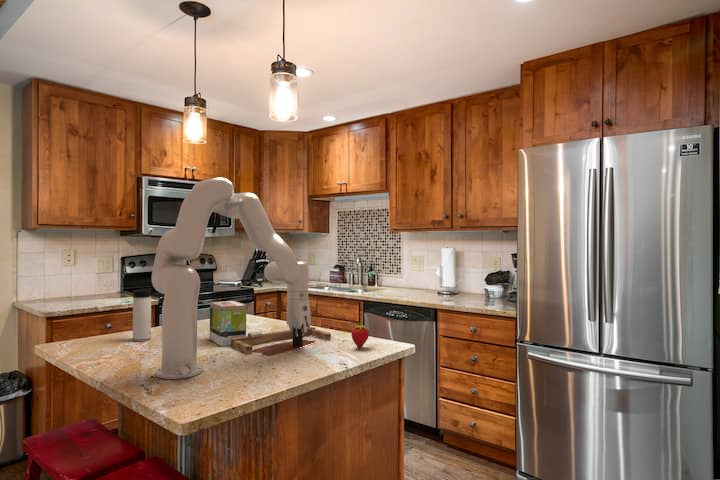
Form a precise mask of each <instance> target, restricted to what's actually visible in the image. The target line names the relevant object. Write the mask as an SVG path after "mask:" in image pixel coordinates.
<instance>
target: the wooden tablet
mask: <svg viewBox="0 0 720 480" xmlns="http://www.w3.org/2000/svg"><path fill="white" fill-rule="evenodd" d="M308 340H309V339H303V346H305V345H308V344H311V343H314V342H315V341H316V340H312V341H308ZM314 344H315V343H314ZM311 345H312V344H311ZM303 346H302V348H304V347H303ZM308 346H309V345H308ZM305 347H306V346H305ZM297 348H298V349H301V348H300V347H297ZM297 348H295V347H293V340H292V341H285V342H279V343H275V344H270V345H265V346H262V347H258V348H255V349H252V353H255V354H261V355H262V356H265V357H271V356H275V355H280V354H283V353H287V352H291V350H292V351H295V350H297Z"/></svg>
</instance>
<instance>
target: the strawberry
mask: <svg viewBox="0 0 720 480" xmlns="http://www.w3.org/2000/svg"><path fill="white" fill-rule="evenodd" d="M366 327H367V325H363V324H362V325H361V324H358V325H354V326H353V329H352V330H351V334H350V335H351V338H352V341H353V343H354V345H356V346H357V348H358V349H359V348H361V349H362V348H363V346H364V345H365V344H366V342H367V341H368V339H369V336H370V331H369V329H368V328H366Z"/></svg>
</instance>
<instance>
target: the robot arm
mask: <svg viewBox="0 0 720 480" xmlns="http://www.w3.org/2000/svg"><path fill="white" fill-rule="evenodd" d="M234 190H235V189H234V185H233V183H232V182H231V180H229V179H228V178H225V177H221V176H218V177H213V178H208V179H204V180H199V181H198V182H196V183H195V184H194V185H193V187H192V189H191V190H190V191H189V193H188V194H187V195H186V197H185V198H184V199H183V201H182V203H181V205H180V209H179V212H178V217H177V219H176V222H175V223H176V224H175V228H172V229H169V230H167V231H166V232H164V233H163V234H162V236H161V238H160V239H159V241H158V244H157V248H156V253H155V257H154V262H153V266H152V270H151V271H152V272H151V284H152V286H153V288H154V289H155V291H157V292H158V293H161V295H162V294H163V295H164V297H163V301H162V307H161V367H159V368H157V369H156V370H155V376H156V377H157V378H160V379H164V380H179V379H180V380H181V379H186V378H191V377H194V376H197V375H199V374H201V373H202V372H203V366H202V365H201V364H200V363H199V364H198V303H199V302H198V301H199V294H200V289H201V278H200V276H199V273H198V272H197V270H196V269H195V268H194V267H192V266H190V265H187V261H190V260H191V261H192V260H194V259H197V258H198V257H200V255H201V253H202V251H203V248H204V243H205V238H206V234H207V233H206V232H207V227H208V225H209V220H210V217H211V215H212V213H215V214H219V215H220V216H224V217H226V218H230V219H234V220H237V219H239V221H240V222H241V223H240V224H242V227H243V228H244V231H245V233H246V236H247V237H248V239H249V241H250V242H251V244H252V245H254V246H255V247H256V248H259V249H260V250H262V251H263V252H265V253H266V254H267V255H268V256H270V258H272V260H273V261H271V262H269V263H267V264H266V266H265V267H264V270H263V275H264V278H266V280H268V281H269V282H271V283H276V284H284V285H286V300H287V302H286V317H285V318H286V320H285V321H286V325H288V328H289V330H290V329H291V330H292V335H294V336H293V339H292V341H293V347H295V348H297V347H302V346H303V340H304V337H303V334H304V332H307V328H309V327H312V321H311V318H312V316H311V315H312V314H311V306H310V300H309V263H308V262H307V261H302V260H301V261H299V260H298V259H297V257H296V256H295V254H294V251H293V250H292V249H291V247H290V246H289V244H287V242H285V241H284V239H283V238H281V236H280V235H279V234H277V232H276V231H275V230H274V228H273V225H272V223H271V221H270V218H269V217H268V215H267V213H266V210H265V209H264V206H263V205H262V202H261V200H260V198H259V197H258V196H257V195H256V194H255V193H253V192H248V191H247V192H238V193H234ZM302 348H303V347H302Z"/></svg>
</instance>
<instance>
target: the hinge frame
mask: <svg viewBox="0 0 720 480" xmlns="http://www.w3.org/2000/svg"><path fill="white" fill-rule="evenodd" d="M331 334H332V333H330V332H327V331H323V330H320V329H316V327H313V326H310V327H309V328H308V327H307V332H304V334H303V338H305V337H304V336H307V337H313V336H315V337H314V338H316V337H318V338H317V339H320V338H322V339H321V340H323V339H325V340H324V341H326V340H328V341H331V340H332V335H331ZM310 335H312V336H310ZM293 336H294V335H292V330H291V329H290V328H289V330H281V331H275V332H267V333H262V332H259V331H254V332H253V331H252V332H248V333H247V335H246V336H245V337H238V338H231V345H230V347H231V348H232V349H235V350H237V351H239V352H241V353H243V354H245V355H252V354H253V352H252V351H253V346H256V345H263V344H268V343H273V342H274V343H275V342H280V341H287V340H293ZM330 339H331V340H330Z"/></svg>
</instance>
